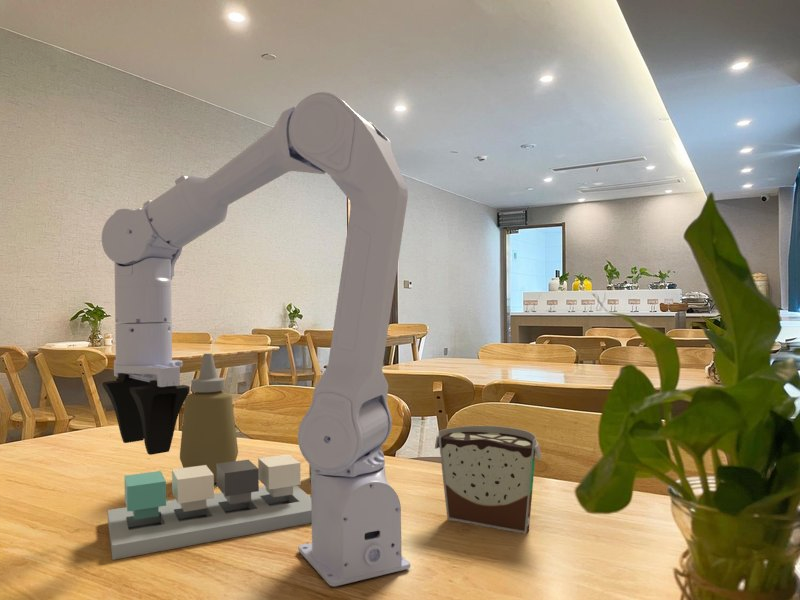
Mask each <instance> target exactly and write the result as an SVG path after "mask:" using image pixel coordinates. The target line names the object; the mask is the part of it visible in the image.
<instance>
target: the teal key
mask: <svg viewBox="0 0 800 600" xmlns="http://www.w3.org/2000/svg"><path fill="white" fill-rule="evenodd" d="M166 501H167V481H166V479H165V476H164V474H163V473H162V471H161V470H157V471H151V472H140V473H134V474H127V475H124V502H125V507H127V512H128V511H132V512H133V516H134V520H137V519H143V518H149V517H155V516H159V507H160V506H166Z"/></svg>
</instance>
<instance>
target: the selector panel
mask: <svg viewBox="0 0 800 600" xmlns="http://www.w3.org/2000/svg"><path fill="white" fill-rule="evenodd" d="M206 505H207V508H205V509H199V510H193V511H186V512H184V511H183V509H182V507H181V505H180V504H178V503H177V501H176V499H171V500H166V506H160V507H159V516H155V517H149V518H143V519H137V520H134V516H133V512H132V511H128V512H127V507H126V506H125V507H118V508H112V509H108V510H107V525H108V532H109V535H108V536H109V540H110V551H111V558H112V560H113V561H114V560H119V559H125V558H130V557H131V558H132V557H134V556H140V555H141V556H142V555H146V554H152V553H157V552H161V551H167V550H174V549H179V548H184V547H188V546H194V545H200V544H206V543H210V542H215V541H216V542H217V541H222V540H226V539H232V538H238V537H242V536H248V535H253V534H259V533H264V532H269V531H274V530H281V529H285V528H290V527H296V526H302V525H307V524H312V510H311V496H310V495H309V494H307V493H306V492H305V491H304V490H303V489H302V488H300V486H299V485H296V486H293V494H292V495H285V496H279V497H273V496H272V495H270V494H269V493H268V492H267V491H266V486H265V485H264V486H259V491H257V492H251V501H248V502H242V503H236V504H229V502H228V501H227V500H226V498H225V497H224V494H223V493H222V492H217V493H214V498H212V499H206Z"/></svg>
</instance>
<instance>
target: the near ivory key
mask: <svg viewBox="0 0 800 600" xmlns="http://www.w3.org/2000/svg"><path fill="white" fill-rule="evenodd" d="M257 460H258V461H257V463H258V464H257V466H258V467H257V468H258V472H259V482H261V484H263V485H264V486H266V491H267V492H268V493H269V494H270V495H272V496H273V497H279V496H285V495H292V494H293V486H296V485H297V486H300V485H302V483H301V482H302V481H301V475H302V474H301V462H300V461H298V460H297V459H296V458H294V457H293V456H291V455H290V454H289V453H287V454H281V455H273V456H265V457H258V459H257Z"/></svg>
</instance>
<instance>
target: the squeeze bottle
mask: <svg viewBox="0 0 800 600" xmlns="http://www.w3.org/2000/svg"><path fill="white" fill-rule="evenodd" d="M199 370H200V371H199V375H198V378H193V379H191V382H190V383H191V387H190V388H191V389H190V390H191V392H192V393H190V394H188V395H187V397H186V399H185V401H184V403H183V414H182V415H183V417H182V425H181V426H182V427H181V437H180V449H179V450H180V451H179V460H180V462H181V465H182V468H187V467H195V466H202V465H206V466H207V467H208V468H209V469H210V471H211V472H212V473H213V474H214V484H217V466H216V464H218V463H225V462H233V461H237V458H238V456H239V449H238V439H237V429H236V422H235V411H234V404H233V397H232V395H231V394H230V393H228V392H225V390H226V378H224V377H219V376H218V374H217V368H216V364H215V360H214V355H213V353H203V355H202V361H201V366H200V369H199Z"/></svg>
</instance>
